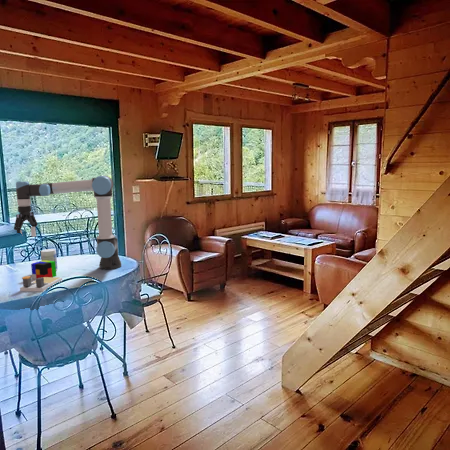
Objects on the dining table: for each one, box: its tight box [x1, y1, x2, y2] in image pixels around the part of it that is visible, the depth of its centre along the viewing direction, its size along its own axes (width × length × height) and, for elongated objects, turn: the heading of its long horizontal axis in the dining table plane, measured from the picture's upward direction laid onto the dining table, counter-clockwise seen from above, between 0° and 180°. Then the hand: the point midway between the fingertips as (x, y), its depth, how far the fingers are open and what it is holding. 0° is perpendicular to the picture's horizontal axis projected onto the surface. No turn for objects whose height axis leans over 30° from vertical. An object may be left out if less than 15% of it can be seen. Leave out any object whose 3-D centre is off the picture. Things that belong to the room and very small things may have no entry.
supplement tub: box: [40, 248, 58, 272], centre depth 264 cm, size 10×10×15 cm
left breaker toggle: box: [35, 278, 44, 287], centre depth 223 cm, size 3×3×4 cm
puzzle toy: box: [30, 260, 57, 280], centre depth 249 cm, size 10×10×10 cm
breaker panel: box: [19, 276, 63, 292], centre depth 232 cm, size 14×21×2 cm, turn 174°
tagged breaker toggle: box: [22, 275, 32, 287], centre depth 224 cm, size 3×3×5 cm
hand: (27, 238), depth 249 cm, fingers open, 13 cm apart
